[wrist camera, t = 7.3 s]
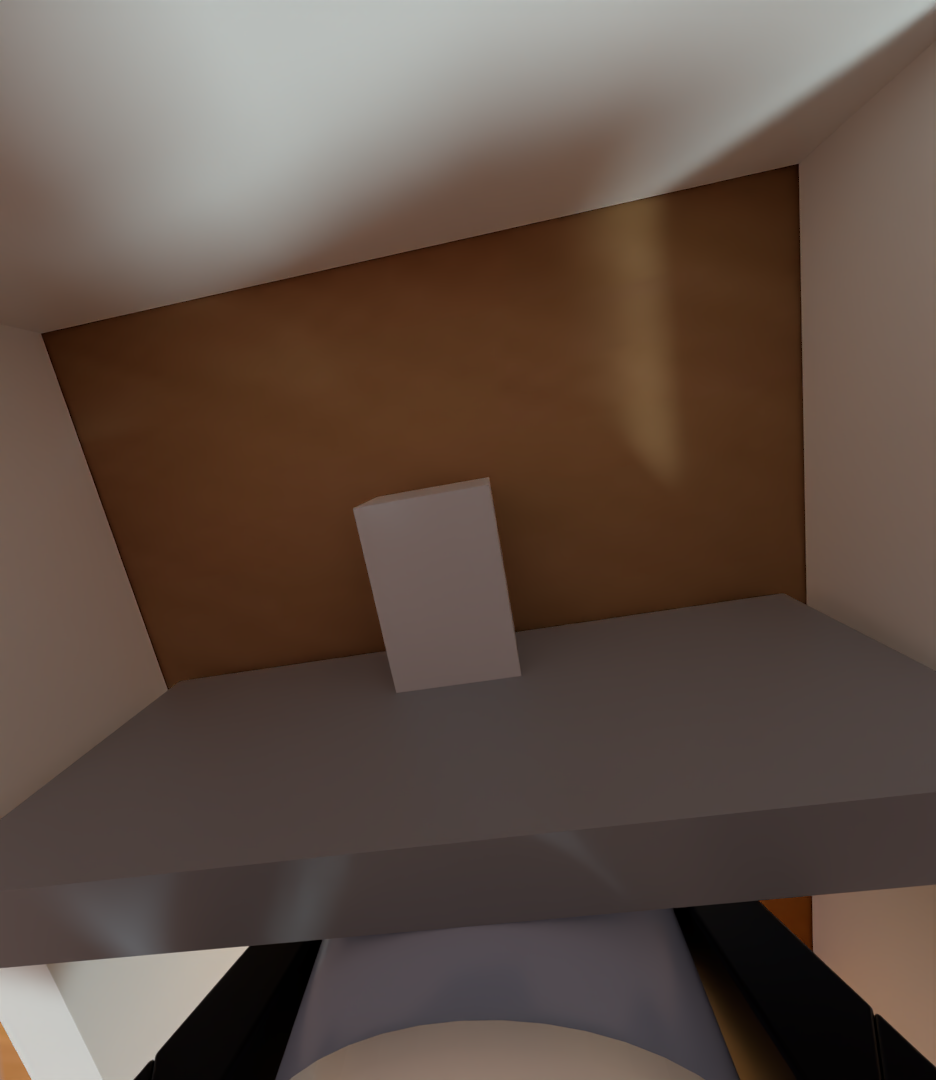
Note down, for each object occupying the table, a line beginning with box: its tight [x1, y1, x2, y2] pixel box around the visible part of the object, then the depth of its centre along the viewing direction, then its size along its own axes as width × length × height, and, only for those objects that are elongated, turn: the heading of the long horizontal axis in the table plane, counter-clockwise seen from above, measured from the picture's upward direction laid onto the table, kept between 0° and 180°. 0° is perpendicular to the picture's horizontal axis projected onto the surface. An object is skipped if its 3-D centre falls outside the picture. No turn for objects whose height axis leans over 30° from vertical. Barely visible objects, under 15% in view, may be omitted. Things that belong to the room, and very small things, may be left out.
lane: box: [0, 0, 936, 1080], centre depth 7 cm, size 19×15×5 cm
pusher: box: [0, 477, 936, 968], centre depth 6 cm, size 4×12×4 cm, turn 100°
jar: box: [275, 908, 740, 1080], centre depth 6 cm, size 5×5×6 cm
